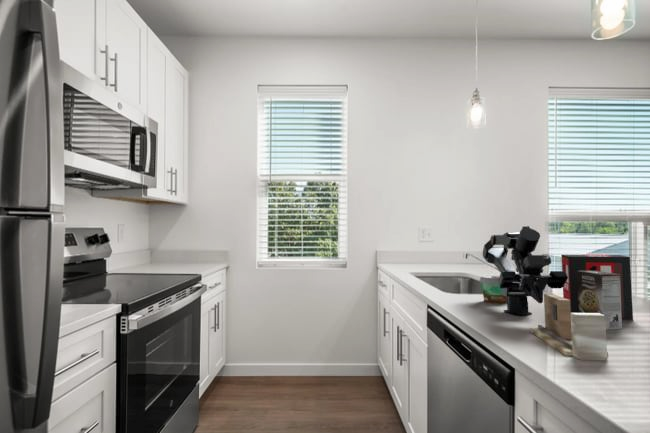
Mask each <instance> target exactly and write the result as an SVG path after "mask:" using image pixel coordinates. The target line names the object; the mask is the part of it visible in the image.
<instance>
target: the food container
mask: <svg viewBox="0 0 650 433" xmlns="http://www.w3.org/2000/svg"><path fill="white" fill-rule="evenodd" d="M498 280H499V277H484V276H480V278H479V282H480V283H481V288H482V289H481V290H482V295H483V296H482V297H483V301H484V302H486V303H488V302H489V303H490V304H498V305H499V304H501V305H502V304H503V305H504V304H507V296H505V295H503V294H502V291H501V288H500V287H499V284H498Z"/></svg>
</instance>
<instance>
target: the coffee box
mask: <svg viewBox="0 0 650 433" xmlns="http://www.w3.org/2000/svg"><path fill="white" fill-rule="evenodd" d="M577 278H578V300H579V313H600V314H603V315H605V320H606V331H607V330H622V329H623V322H622V321H623V320H622V316H621V287H620V274H615V273H608V272H602V271H587V270H583V271H577Z"/></svg>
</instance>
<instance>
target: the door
mask: <svg viewBox="0 0 650 433" xmlns="http://www.w3.org/2000/svg"><path fill="white" fill-rule="evenodd" d="M543 303H544V306H543V307H544V325H545V326H544V327H545V328H547V329H548V330H550V331H552V332H553V333H555V334H557V335H558V336H560V337H562V338H563V339H572V330H571V309H570V300H568V299H566V298H563V296H561V295H558V294H555V293H543Z"/></svg>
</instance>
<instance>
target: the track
mask: <svg viewBox="0 0 650 433" xmlns="http://www.w3.org/2000/svg"><path fill="white" fill-rule="evenodd" d="M571 331H572V339H563V338H562V337H560V336H558V335H557V334H555V333H553V332H552V331H550V330H548V329H547V328H545V326H543V325H542V324H537V328H530V332H531V333H532V334H534V335H535V336H537V337H538V338H539V339H541V340H542V341H544V342H545V343H547V344H548V345H550V346H551V347H552V348H554V349H555V350H557V352H560V353H561V354H563V355H564V356H568V357H574V358H575V359H576V360H578V359H580V360H582V361H584V360H586V361H608V358H609V352H608V346H607V345H608V344H607V342H608V341H607V330H606V320H605V315H603V314H600V313H571ZM580 360H579V361H580Z"/></svg>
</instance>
